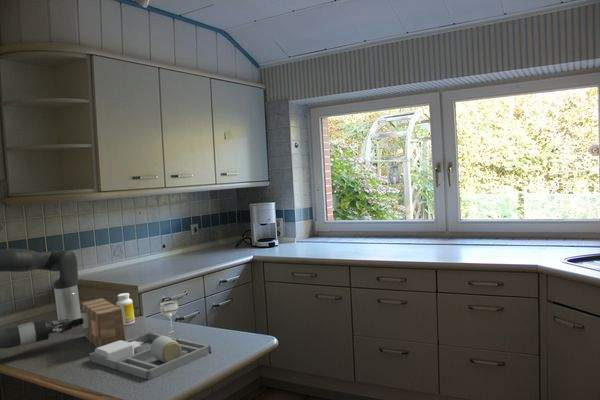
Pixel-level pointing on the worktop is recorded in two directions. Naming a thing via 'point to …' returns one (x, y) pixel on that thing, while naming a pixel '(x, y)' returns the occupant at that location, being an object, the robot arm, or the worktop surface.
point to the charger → (118, 349)
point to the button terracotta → (95, 328)
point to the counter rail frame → (149, 370)
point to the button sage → (85, 320)
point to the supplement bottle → (126, 308)
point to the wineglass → (169, 309)
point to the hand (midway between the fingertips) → (82, 320)
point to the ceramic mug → (166, 349)
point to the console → (104, 322)
